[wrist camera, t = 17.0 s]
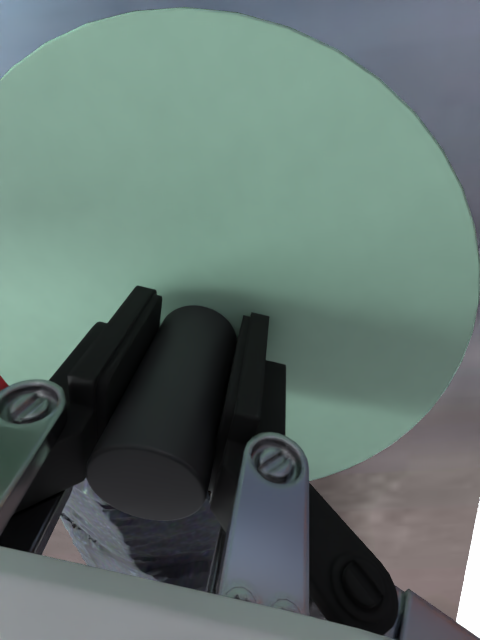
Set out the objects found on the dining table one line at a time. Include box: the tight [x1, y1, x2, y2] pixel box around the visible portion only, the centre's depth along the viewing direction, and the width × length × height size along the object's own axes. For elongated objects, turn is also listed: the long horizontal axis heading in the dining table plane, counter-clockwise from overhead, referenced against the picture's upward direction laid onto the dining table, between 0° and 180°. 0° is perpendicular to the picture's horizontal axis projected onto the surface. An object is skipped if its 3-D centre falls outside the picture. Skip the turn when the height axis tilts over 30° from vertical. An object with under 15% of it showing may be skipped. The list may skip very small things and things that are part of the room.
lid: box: [0, 7, 480, 521], centre depth 10 cm, size 16×16×6 cm
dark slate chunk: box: [60, 478, 220, 592], centre depth 27 cm, size 15×22×5 cm
